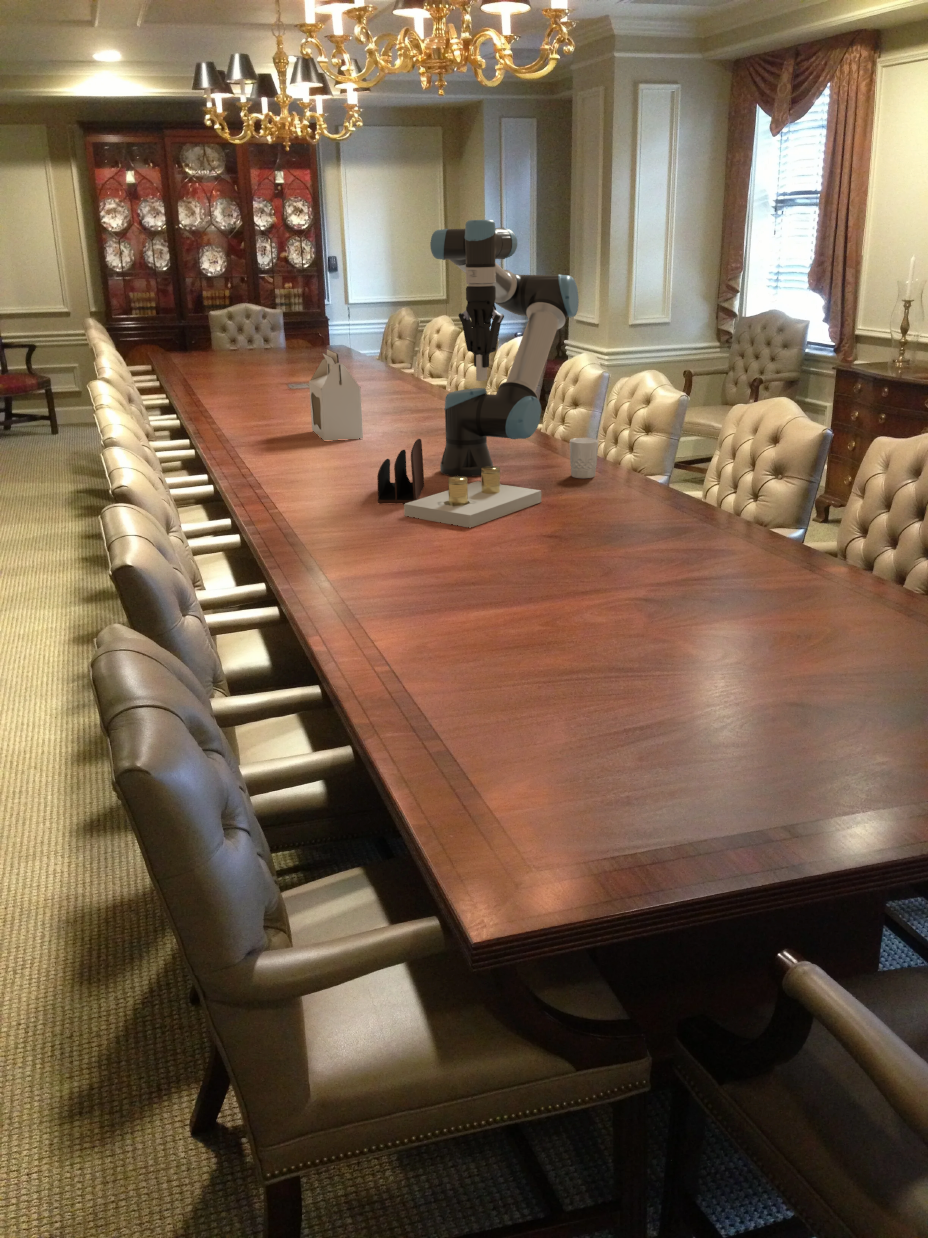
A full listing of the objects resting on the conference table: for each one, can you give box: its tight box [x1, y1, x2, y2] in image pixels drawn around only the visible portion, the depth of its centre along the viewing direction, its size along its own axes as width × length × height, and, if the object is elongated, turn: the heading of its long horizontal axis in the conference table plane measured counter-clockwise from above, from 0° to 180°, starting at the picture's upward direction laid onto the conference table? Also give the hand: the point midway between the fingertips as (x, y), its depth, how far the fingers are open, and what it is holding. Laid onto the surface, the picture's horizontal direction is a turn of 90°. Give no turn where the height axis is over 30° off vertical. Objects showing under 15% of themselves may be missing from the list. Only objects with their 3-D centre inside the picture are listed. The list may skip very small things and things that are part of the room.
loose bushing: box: [447, 476, 469, 506], centre depth 256 cm, size 5×5×9 cm
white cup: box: [569, 437, 599, 479], centre depth 294 cm, size 8×8×10 cm
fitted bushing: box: [480, 465, 501, 494], centre depth 267 cm, size 5×5×9 cm
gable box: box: [308, 349, 364, 441], centre depth 358 cm, size 22×13×28 cm, turn 18°
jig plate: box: [403, 480, 542, 529], centre depth 262 cm, size 20×30×3 cm, turn 143°
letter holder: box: [377, 438, 425, 504], centre depth 276 cm, size 10×20×14 cm, turn 176°
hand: (481, 379), depth 275 cm, fingers closed
